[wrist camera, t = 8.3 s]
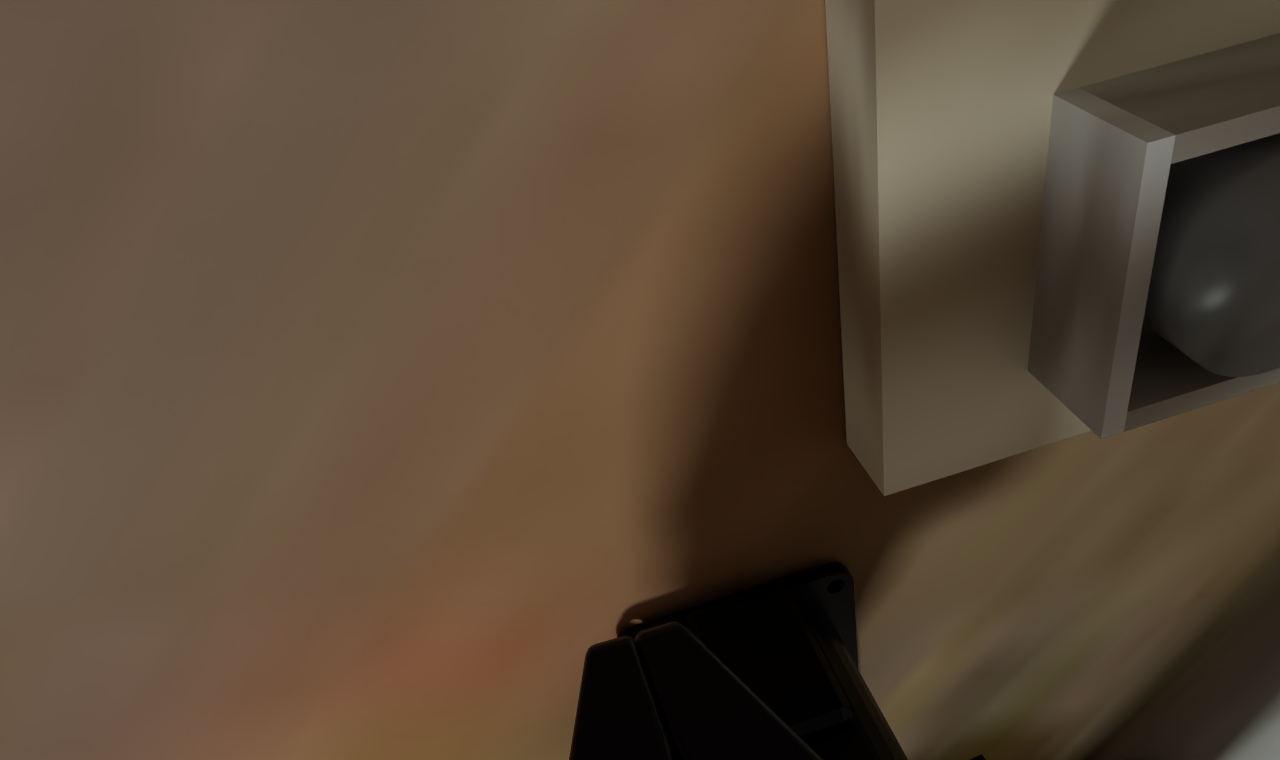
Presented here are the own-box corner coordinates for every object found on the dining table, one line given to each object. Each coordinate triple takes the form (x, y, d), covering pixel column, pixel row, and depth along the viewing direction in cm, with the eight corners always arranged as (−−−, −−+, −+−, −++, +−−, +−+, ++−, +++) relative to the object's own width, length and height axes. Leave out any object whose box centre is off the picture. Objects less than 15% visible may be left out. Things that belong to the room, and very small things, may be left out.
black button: (1269, 279, 21) (1369, 340, 19) (1083, 336, 20) (1166, 403, 18) (1321, 78, 18) (1445, 123, 16) (1109, 138, 17) (1209, 191, 15)
